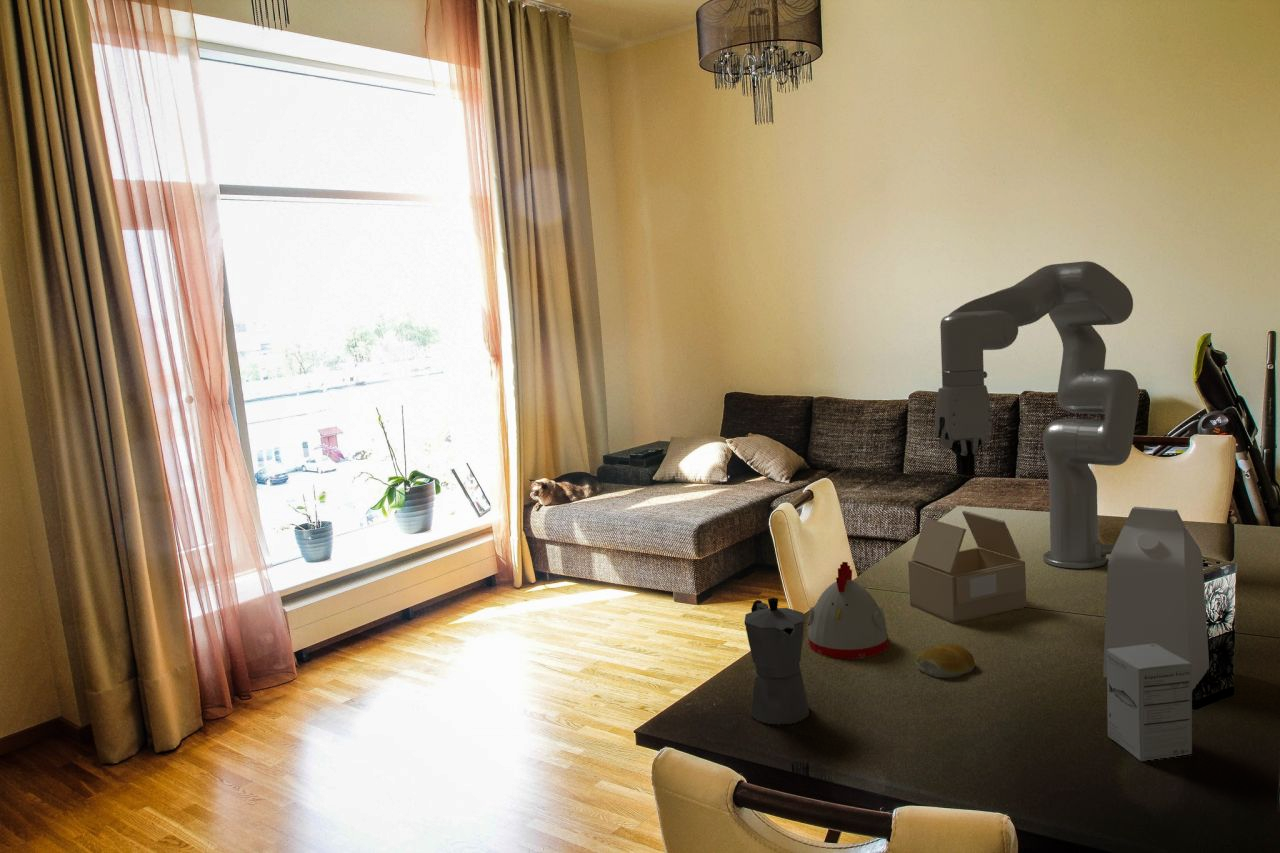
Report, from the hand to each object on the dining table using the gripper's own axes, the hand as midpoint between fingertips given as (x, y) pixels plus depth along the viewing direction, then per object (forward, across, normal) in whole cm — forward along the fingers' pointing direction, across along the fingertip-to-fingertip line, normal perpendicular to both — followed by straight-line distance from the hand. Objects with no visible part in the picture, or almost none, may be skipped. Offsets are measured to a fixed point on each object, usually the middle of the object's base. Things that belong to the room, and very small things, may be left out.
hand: (965, 474), depth 179 cm
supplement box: (+27, +18, +57) cm, 65 cm away
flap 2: (+17, -8, 0) cm, 19 cm away
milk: (+26, -2, +40) cm, 48 cm away
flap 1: (+17, +9, 0) cm, 19 cm away
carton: (+26, 0, 0) cm, 26 cm away
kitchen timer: (+27, +31, +5) cm, 41 cm away
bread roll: (+27, +23, +22) cm, 42 cm away
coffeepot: (+27, +55, +22) cm, 65 cm away
